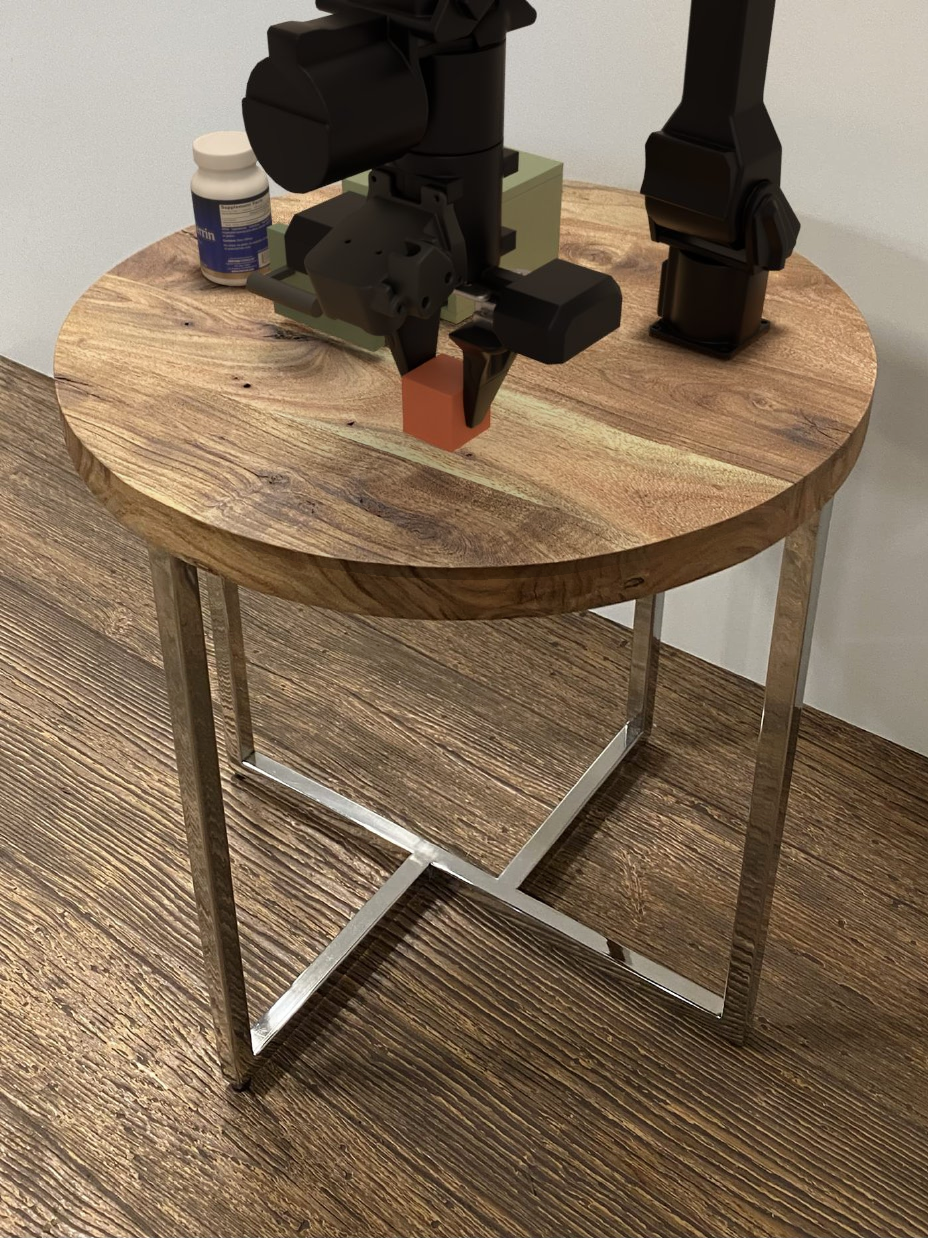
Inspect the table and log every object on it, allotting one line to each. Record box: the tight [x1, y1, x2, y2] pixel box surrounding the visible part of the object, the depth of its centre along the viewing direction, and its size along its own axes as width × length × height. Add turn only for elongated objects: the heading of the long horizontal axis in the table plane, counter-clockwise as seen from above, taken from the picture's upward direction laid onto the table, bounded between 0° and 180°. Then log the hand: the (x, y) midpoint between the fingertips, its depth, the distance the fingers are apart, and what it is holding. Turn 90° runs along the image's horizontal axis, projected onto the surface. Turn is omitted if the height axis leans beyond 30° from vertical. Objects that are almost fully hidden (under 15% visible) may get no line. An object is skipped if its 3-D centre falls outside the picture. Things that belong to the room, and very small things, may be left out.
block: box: [401, 353, 492, 454], centre depth 73 cm, size 4×4×4 cm
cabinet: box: [341, 145, 564, 325], centre depth 97 cm, size 13×11×8 cm
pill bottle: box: [190, 130, 274, 287], centre depth 97 cm, size 6×6×10 cm
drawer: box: [245, 221, 448, 353], centre depth 91 cm, size 15×9×6 cm, turn 142°
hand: (446, 413), depth 74 cm, fingers closed on block, 3 cm apart
